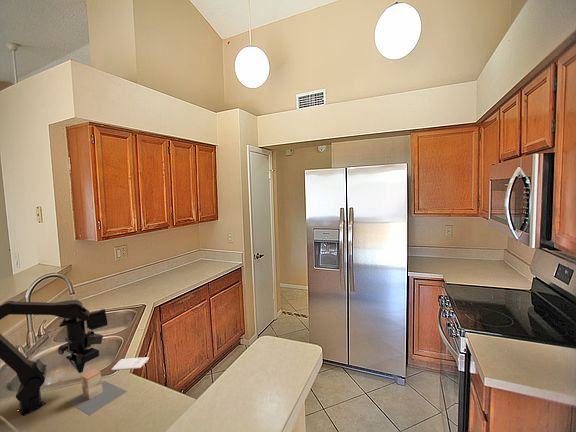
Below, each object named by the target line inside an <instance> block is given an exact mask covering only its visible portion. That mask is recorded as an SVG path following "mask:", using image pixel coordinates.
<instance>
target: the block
mask: <svg viewBox="0 0 576 432" xmlns="http://www.w3.org/2000/svg"><path fill="white" fill-rule="evenodd" d="M80 379H81V386H82V387H81V388H82V394H83V396H84V397H86V398H88V399H89V400H90V399H92V398H93V397H95V396H97V395H98V394H100V393H102V392H103V391H102V383H103V382H102V373H101V371H100V370H97V369H95V368H93V369H90V370H89V371H88V372H85V373H83V374H82V375H80Z"/></svg>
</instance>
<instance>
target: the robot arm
mask: <svg viewBox="0 0 576 432" xmlns="http://www.w3.org/2000/svg"><path fill="white" fill-rule="evenodd" d="M83 305H84V304H83V302H81V300H79V299H72V300H71V299H69V300H63V301H62V300H61V301H59V302H58V301H57V302H43V301H42V302H41V301H40V302H39V301H38V302H37V301H15V300H6V301H4V302H3V303H2V304H0V321H1V320H3V319H4V318H5V317H7V316H9V315H12V316H13V315H16V316H18V315H19V316H20V315H25V316H27V315H30V316H32V315H33V316H55V317H58V318H61V319H62V321H60V322H59V325H58V327H59V328H61V327H65V328H66V329H65V330H66V337H65V338H64V340H65V341H64V342H66V343H64V344H61V345H60V346H59V347H58V349H57V354H58V355H60V356H63V355H64V354H65V352H66V353H67V356H66V357H65V359H66V360H68V362H69V363H70V364H71V365H72V366H73V368H74V369H75V371H77V373H79V374H81V373H83V372H84V368H85V365H86V363H88V362H90V361H91V360H94V359H96V358H98V357H100V355H101V354H100V349H96V348H94V347H91V346H92V345H102V342H103V339H104V334H100V333H95V331H94V330H96V329H101V328H104V327H107V326H108V318H107V313H106V309H105V308H101V309H99V310H96V311H92V312H90V310H88V309H87V308H85V307H84V306H83ZM85 322H86V324H85ZM86 328H87V329H88V331H87V332H86ZM0 360H1V361H3V362H4V363H5V364H6V365H7V366H8V367H9V368H10V369H11V370H13V372H14V373H16V376H17V378H18V381H19V383H20V384H19V386H18V388H17V391H16V394H15V398H16V400H17V401H18V403H19V408H20V409H19V408H18V409H19V411H18V412H19V413H18V412H17V413H18V414H20V415H21V416H22V417H24V416H27V415H29V414H31V413H33V412H34V411H35V410H38V409H40V408H41V407H43V406H45V405H46V404H47V402H45V401H44V400H42V392H41V387H42V386H43V385H44V383H45V382H46V381H45V380H46V377H47V373H48V371H47V365H46V364H44V363H43V362H42V361H41V359H39V358H38V359H37V360H36V361H33V360H30V359H28V358H27V357H26V356H25V355H24V354H23V353H22V352H21V351H20V350H19V349H18V348H16V346H15V345H13V344H12V343H11V342H10V341H9V340H8V339H7V338H6V336H4V335H3V334H1V333H0Z"/></svg>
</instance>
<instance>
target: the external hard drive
mask: <svg viewBox="0 0 576 432" xmlns="http://www.w3.org/2000/svg"><path fill="white" fill-rule="evenodd" d="M149 359H150V357H149V356H146V357H132V358H131V357H129V358H122V359H119V361H118V362H117V363H116V364H115V365H114V366H113V367H112V368H111V369H110V371H121V370H122V371H124V370H133V369H135V370H136V369H141V368H142V367H143V366H145V364H146V363H147V362H148V361H149Z"/></svg>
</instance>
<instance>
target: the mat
mask: <svg viewBox="0 0 576 432" xmlns="http://www.w3.org/2000/svg"><path fill="white" fill-rule="evenodd" d="M102 391H103V392H102V393H100V394H98V395H97V396H95V397H93V398H92V399H90V400H89V399H88V398H86V397H84V396H83V393H82V394H80V395H78V396H76V397H74V398H73V399H71V400H69V401H67V403H68V404H69V405H71V406H73V407H75V408H76V409H78V410H79V411H81V412H83V413H85V414H86V415H88V416H91V415H93V414H94V413H96V412H97V411H99V410H101V409H102V408H104V407H105V406H107V405H108V404H110V403H112V402H113V401H114V400H116V399H118V398H119V397H121V396H122V395H124V394H126V393H127V392H128V390H125V389H123V388H121V387H119V386H117V385H115V384H113V383H110V382H108V381H106V380H104V381H103V382H102Z"/></svg>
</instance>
